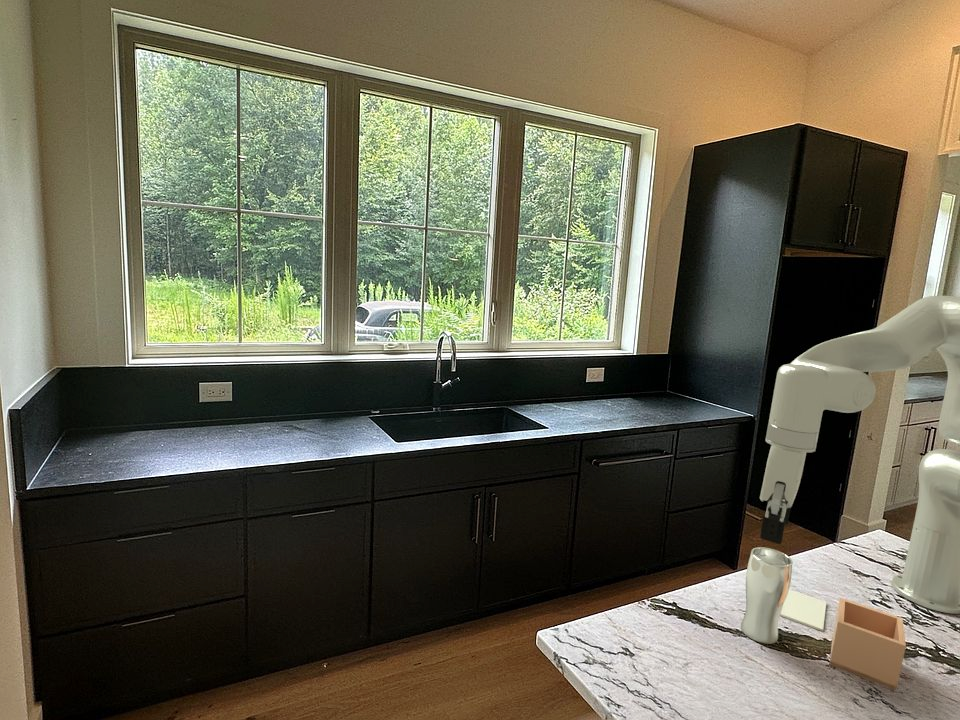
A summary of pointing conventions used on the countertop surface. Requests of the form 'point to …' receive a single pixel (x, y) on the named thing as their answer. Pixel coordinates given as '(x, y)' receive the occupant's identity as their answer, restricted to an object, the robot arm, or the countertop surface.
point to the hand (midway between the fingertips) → (774, 530)
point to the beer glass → (765, 593)
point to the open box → (868, 643)
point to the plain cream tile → (804, 610)
